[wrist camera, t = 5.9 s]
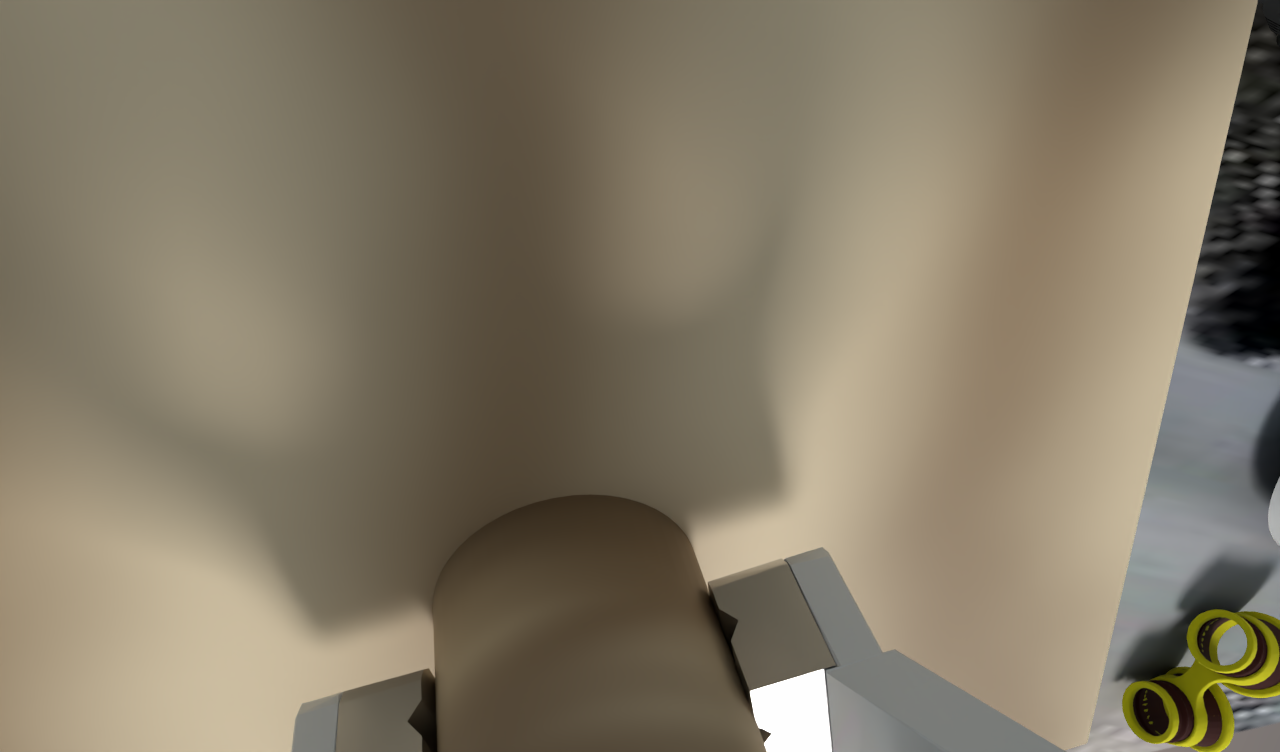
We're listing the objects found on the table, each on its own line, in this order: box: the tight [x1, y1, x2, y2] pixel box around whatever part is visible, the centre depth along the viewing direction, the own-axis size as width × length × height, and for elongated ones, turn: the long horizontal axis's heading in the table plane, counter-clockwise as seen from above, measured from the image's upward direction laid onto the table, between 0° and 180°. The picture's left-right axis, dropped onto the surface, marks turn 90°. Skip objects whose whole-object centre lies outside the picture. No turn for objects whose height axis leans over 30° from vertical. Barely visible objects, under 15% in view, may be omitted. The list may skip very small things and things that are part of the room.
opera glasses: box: [1122, 609, 1280, 752], centre depth 51 cm, size 10×5×5 cm, turn 156°
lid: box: [0, 0, 1258, 752], centre depth 11 cm, size 17×17×5 cm
